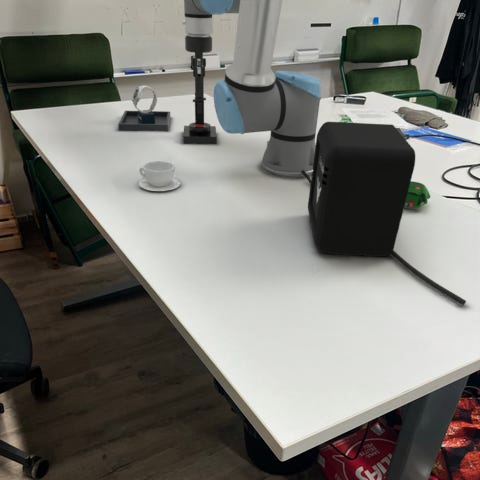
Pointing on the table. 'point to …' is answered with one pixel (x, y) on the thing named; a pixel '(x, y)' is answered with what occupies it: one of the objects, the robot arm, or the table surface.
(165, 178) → the teacup
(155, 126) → the tray
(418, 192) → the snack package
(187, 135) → the control block
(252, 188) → the table surface
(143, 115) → the watch
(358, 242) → the air purifier
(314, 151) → the robot arm
